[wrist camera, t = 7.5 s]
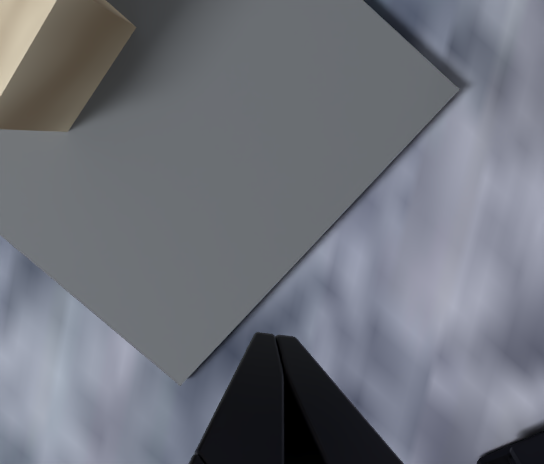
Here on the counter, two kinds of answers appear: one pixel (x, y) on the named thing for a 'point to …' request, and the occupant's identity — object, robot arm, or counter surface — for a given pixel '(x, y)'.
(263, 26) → the rubber mat
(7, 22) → the birch block
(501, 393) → the counter surface
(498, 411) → the counter surface
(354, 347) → the counter surface
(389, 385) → the counter surface
